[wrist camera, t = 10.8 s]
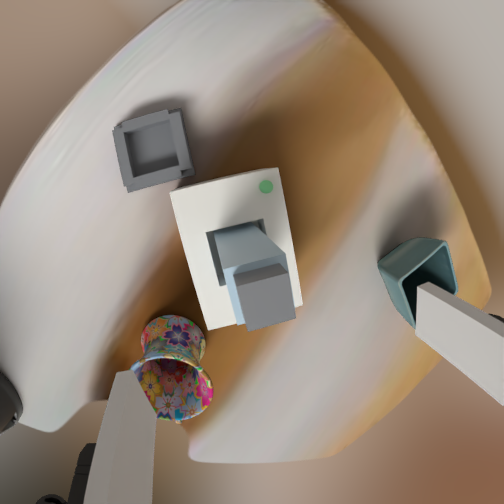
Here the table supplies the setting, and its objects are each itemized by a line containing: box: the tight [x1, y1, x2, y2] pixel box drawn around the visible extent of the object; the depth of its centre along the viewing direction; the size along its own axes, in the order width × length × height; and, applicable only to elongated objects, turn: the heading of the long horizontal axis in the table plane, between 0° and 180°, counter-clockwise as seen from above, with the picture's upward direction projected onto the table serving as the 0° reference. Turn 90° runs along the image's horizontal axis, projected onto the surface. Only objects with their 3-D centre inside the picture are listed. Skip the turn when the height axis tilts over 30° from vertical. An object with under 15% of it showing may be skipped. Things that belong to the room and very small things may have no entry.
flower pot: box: [378, 237, 458, 329], centre depth 37 cm, size 9×9×9 cm
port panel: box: [170, 168, 303, 330], centre depth 32 cm, size 10×14×8 cm
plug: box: [213, 222, 296, 332], centre depth 25 cm, size 4×4×15 cm
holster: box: [112, 108, 195, 193], centre depth 31 cm, size 8×8×2 cm
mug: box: [128, 315, 213, 424], centre depth 33 cm, size 12×9×11 cm
